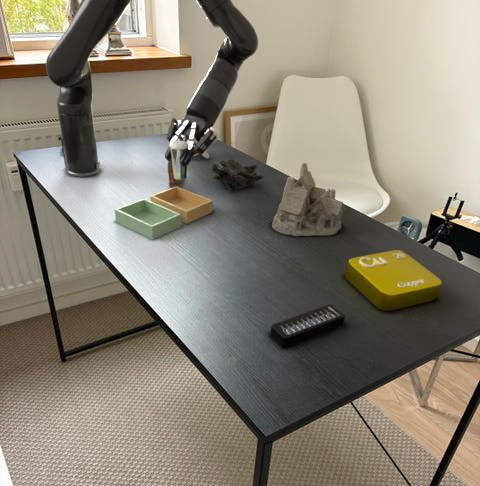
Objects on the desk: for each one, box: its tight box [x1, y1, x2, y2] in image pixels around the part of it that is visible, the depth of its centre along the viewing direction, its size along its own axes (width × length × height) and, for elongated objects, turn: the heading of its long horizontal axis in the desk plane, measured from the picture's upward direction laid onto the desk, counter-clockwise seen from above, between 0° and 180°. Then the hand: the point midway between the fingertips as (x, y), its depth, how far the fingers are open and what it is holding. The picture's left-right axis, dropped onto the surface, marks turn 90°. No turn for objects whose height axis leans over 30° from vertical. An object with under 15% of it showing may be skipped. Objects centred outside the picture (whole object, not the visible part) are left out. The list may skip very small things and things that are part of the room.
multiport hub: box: [269, 303, 346, 349], centre depth 91 cm, size 4×14×2 cm, turn 122°
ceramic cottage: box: [271, 162, 346, 237], centre depth 122 cm, size 16×16×15 cm
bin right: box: [149, 186, 213, 224], centre depth 129 cm, size 13×10×3 cm
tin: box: [167, 160, 183, 189], centre depth 142 cm, size 15×3×8 cm, turn 179°
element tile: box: [344, 249, 443, 312], centre depth 104 cm, size 15×15×5 cm
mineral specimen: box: [210, 158, 264, 191], centre depth 143 cm, size 15×13×10 cm
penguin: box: [177, 126, 219, 160], centre depth 162 cm, size 9×8×15 cm
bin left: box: [114, 198, 182, 240], centre depth 121 cm, size 13×10×3 cm
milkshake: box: [168, 135, 188, 181], centre depth 121 cm, size 4×5×10 cm
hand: (175, 162), depth 120 cm, fingers closed on milkshake, 4 cm apart
